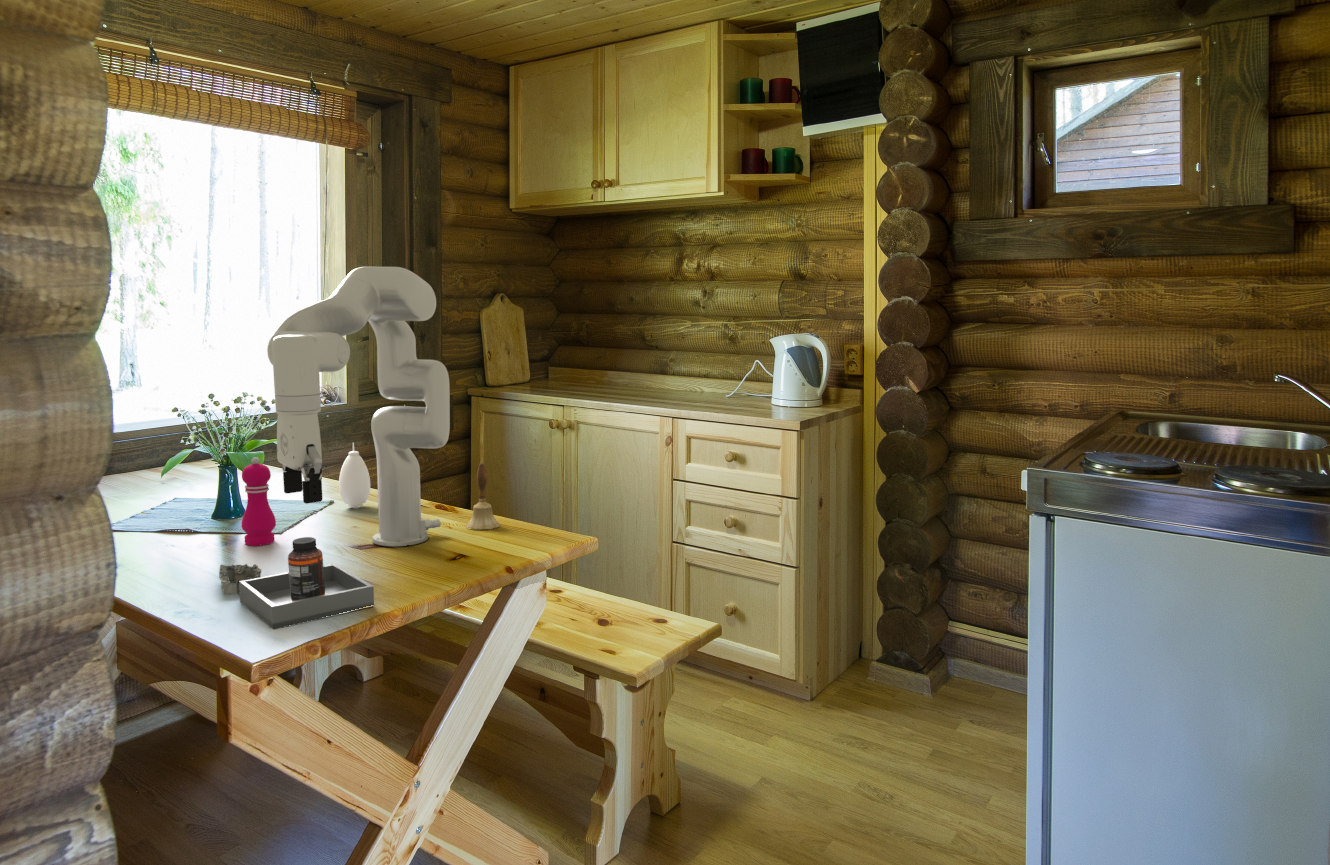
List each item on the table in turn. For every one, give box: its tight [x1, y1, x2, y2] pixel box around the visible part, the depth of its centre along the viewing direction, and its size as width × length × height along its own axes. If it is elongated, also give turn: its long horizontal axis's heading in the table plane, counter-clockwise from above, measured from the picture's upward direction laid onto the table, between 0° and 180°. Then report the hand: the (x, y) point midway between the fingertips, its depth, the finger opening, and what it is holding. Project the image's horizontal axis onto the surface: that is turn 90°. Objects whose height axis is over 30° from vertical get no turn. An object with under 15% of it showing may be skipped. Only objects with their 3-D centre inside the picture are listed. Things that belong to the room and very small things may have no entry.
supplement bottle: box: [287, 536, 325, 601], centre depth 164 cm, size 6×6×11 cm
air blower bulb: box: [338, 441, 371, 509], centre depth 240 cm, size 8×8×18 cm
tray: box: [239, 563, 375, 630], centre depth 165 cm, size 18×18×4 cm
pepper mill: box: [241, 456, 277, 547], centre depth 205 cm, size 7×7×20 cm
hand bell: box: [465, 462, 501, 530], centre depth 223 cm, size 8×8×16 cm
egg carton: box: [218, 563, 262, 596], centre depth 175 cm, size 11×8×4 cm
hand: (303, 497), depth 163 cm, fingers open, 9 cm apart
